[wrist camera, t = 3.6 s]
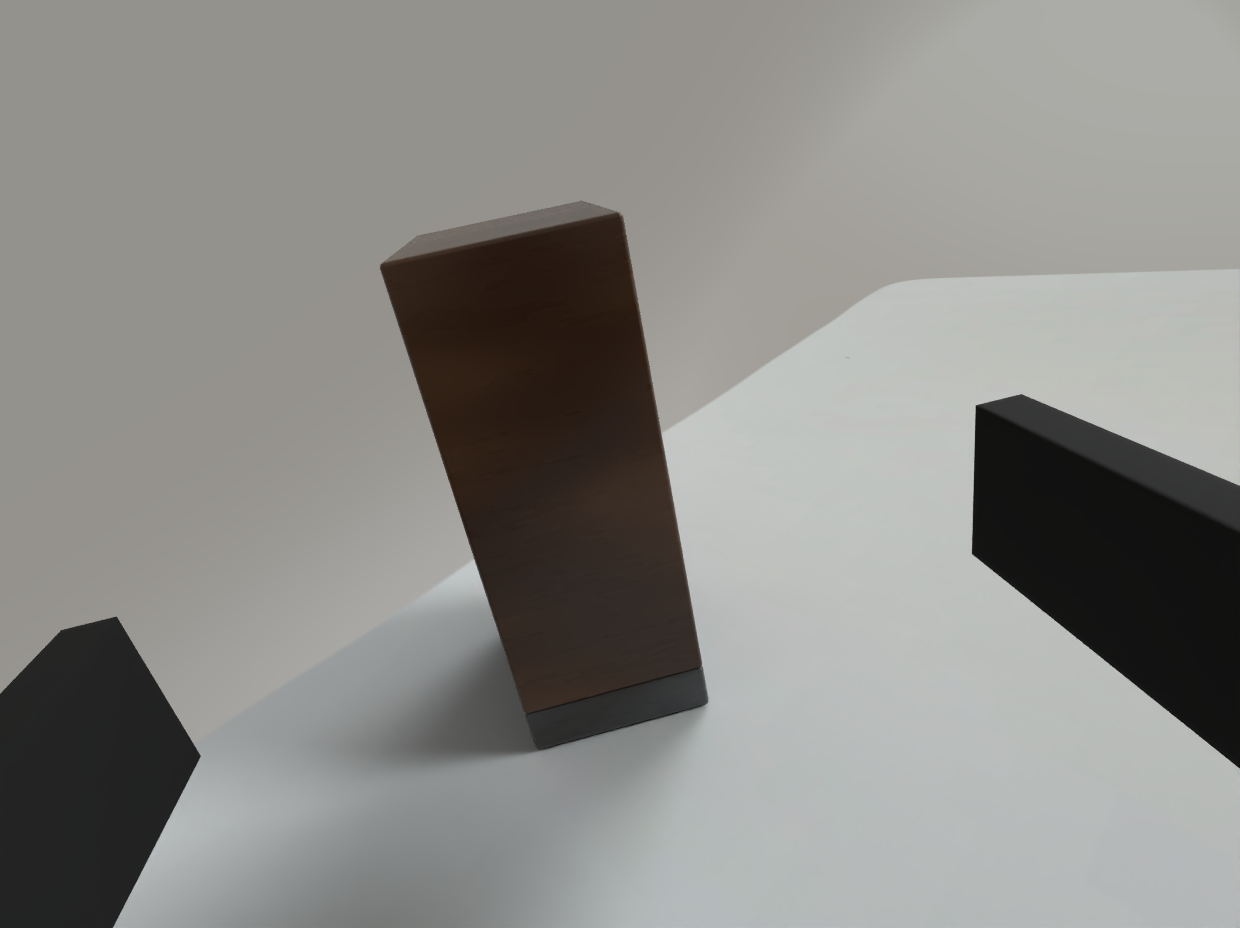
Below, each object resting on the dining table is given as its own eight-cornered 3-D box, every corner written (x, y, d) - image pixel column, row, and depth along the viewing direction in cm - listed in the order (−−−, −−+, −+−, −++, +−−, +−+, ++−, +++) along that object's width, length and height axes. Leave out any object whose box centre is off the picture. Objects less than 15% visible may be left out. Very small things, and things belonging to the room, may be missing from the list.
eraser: (536, 752, 17) (377, 263, 12) (526, 612, 23) (413, 236, 18) (709, 704, 17) (622, 211, 13) (659, 578, 23) (584, 200, 18)
